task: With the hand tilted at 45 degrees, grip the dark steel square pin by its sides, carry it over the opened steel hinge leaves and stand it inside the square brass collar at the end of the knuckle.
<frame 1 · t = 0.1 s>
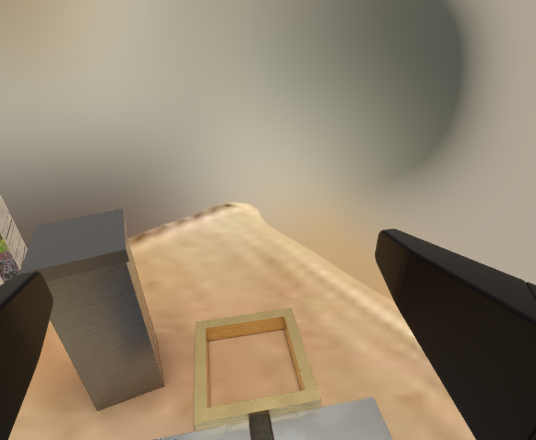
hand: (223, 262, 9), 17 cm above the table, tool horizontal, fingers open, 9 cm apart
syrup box: (10, 316, 30), on the table
pin: (130, 371, 24), on the table
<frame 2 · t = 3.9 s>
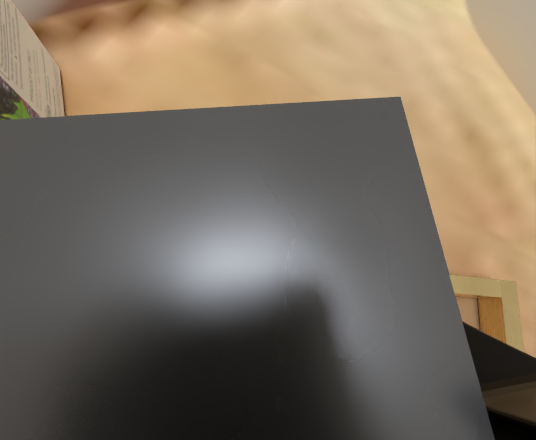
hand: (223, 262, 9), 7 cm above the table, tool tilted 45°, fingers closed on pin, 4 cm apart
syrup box: (8, 124, 16), on the table
pin: (229, 312, 15), on the table, touching gripper
when the fingers open (8 cm above the table, at t = 7.9 s): pin drops 2 cm, resting in hinge leaves.
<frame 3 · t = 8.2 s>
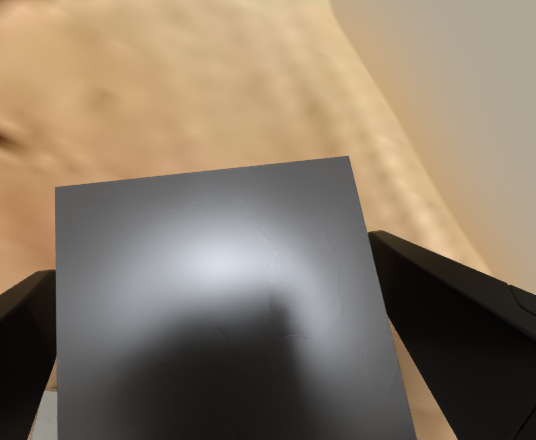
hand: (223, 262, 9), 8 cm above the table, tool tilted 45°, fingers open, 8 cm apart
pin: (230, 309, 17), resting in hinge leaves
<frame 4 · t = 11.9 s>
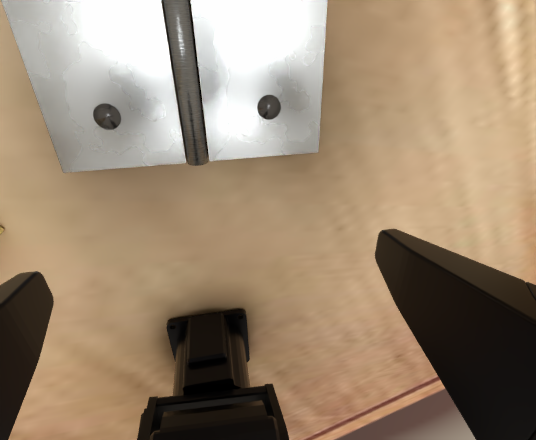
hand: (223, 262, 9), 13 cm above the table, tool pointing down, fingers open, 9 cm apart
hinge leaves: (182, 41, 17), on the table
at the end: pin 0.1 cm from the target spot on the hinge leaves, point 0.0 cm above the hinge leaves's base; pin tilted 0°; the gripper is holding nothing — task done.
